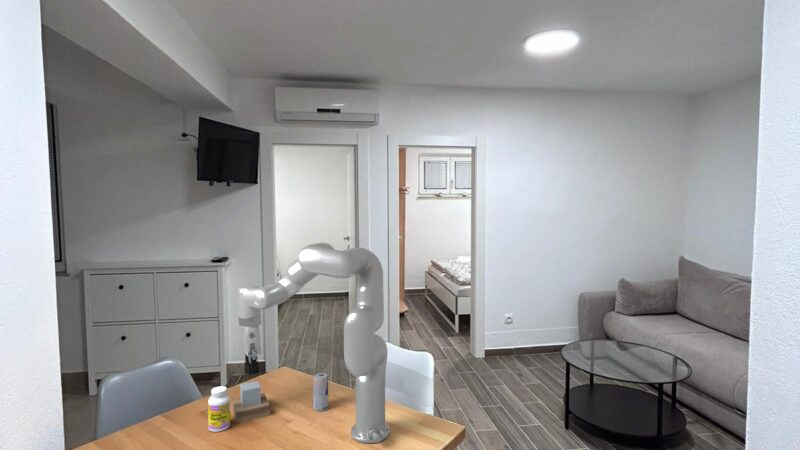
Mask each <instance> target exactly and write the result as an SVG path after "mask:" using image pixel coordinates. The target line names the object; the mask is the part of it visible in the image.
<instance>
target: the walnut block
mask: <svg viewBox="0 0 800 450" xmlns="http://www.w3.org/2000/svg"><path fill="white" fill-rule="evenodd" d="M231 401H232V412H233V415H234V420H235V423H236V424H238V423H244V422H247V421H252V420H257V419H261V418H264V417H269V416H270V415H271V405H270V402H269V401H268V398H267V396H266V394H265V393H264V392H261V404H259V405H254V406H249V407H245V408H243V407H242V404H241V401H240V397H239V398H232V400H231Z"/></svg>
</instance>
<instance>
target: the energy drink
mask: <svg viewBox="0 0 800 450" xmlns="http://www.w3.org/2000/svg"><path fill="white" fill-rule="evenodd" d="M328 408H329V376H328V374H327V373H326V372H318V373H315V374H314V375H313V377H312V409H313V410H314V411H315V412H319V413H320V412H324V411H326V410H327V409H328Z"/></svg>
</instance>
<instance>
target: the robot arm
mask: <svg viewBox="0 0 800 450" xmlns="http://www.w3.org/2000/svg"><path fill="white" fill-rule="evenodd" d="M286 269H287V274H286V275H285V276H283V277H282V278H281V279H279V280H278V281H276V282H275V283H272V284H271V283H270V284H268V285H265V286H261V287H260V286H259V285H256V284H248V285H246V284H245V285H242V286H239V287H238V289H237V309H238V313H237V314H238V317H237V318H238V327H239V328H241V329H242V342H243V350H244V354H245V355H244V357H245V365H246V366H248V375H249V376H251V375H256V374H257V375H258V374H259V372H260V371H259V359H258V355H261V354H262V348H261V347H262V346H261V333H260V327H259V326H261V325H262V310H263V311H264V310H268V309H271V308H273V307H275V306H277V305H280V304H282V303H284V302H286V301H288V300H289V299H290V298H292V297H293V296H295V294H297V293H299V291H301V290H302V288H304V287H305V286H306V284H308V283H309V282H311V281H312V280H313V279H315V278H316V277H317V276H319V275H320V276H324V277H325V276H326V277H330V278H335V279H343V280H344V279H349V278H352V277H354V276H358V277H357V278H358V279H357V286H356V307H355V308H354V309H352V310H351V311H350V312H348V314H347V315H346V317H345V320H344V324H343V325H344V326H343V358H344V359H343V360H344V364H345V368H346V369H347V371H348V372H349V373H350V375H352V376H354V377H355V423H354V424H353V425H352V426H351V429H350V436H351V437H352V438H353V439H354V440H355V441H357V442H360V443H363V444H375V443H380V442H383V441H384V440H386V439H387V438H388V437H389V436H390V433H391V428H390V426H389V424H388V423H387V422H386V372H387V362H388V346H387V343H386V340H385V339H384V338H383V337H382V335H378V334H376V333H377V331H378V330H380V329H381V327H382V326H383V325H384V322H385V313H384V311H385V308H384V307H385V305H384V304H385V302H384V300H385V299H384V298H385V297H384V295H385V294H384V271H383V270H384V269H383V266H382V263H381V261H380V259H379V258H378V256H377V255H376V254H375V253H374V252H372V251H371V250H369V249H367V248H364V247H351V248H347V249H344V250H338V249H335V248H334V247H333V246H332V245H331V244H329V243H327V242H317V243H312V244H307V245H305V246H303V248H301V249H300V251H299V252H298V256H297V258H296V259H294V261H292V262H291V263H290V264H289V265H288V267H287V268H286Z"/></svg>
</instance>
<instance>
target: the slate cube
mask: <svg viewBox="0 0 800 450" xmlns="http://www.w3.org/2000/svg"><path fill="white" fill-rule="evenodd" d="M239 388H240V389H239V390H240V394H239V395H240V397H239V398H240V401H241V404H242V407H243V408H245V407H249V406H254V405H259V404H261V394H262V392H261V388H262V387H261V384H260V383H259V381H258V380H256V381H255V380H254V381H251V382H245V383H240V384H239Z"/></svg>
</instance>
